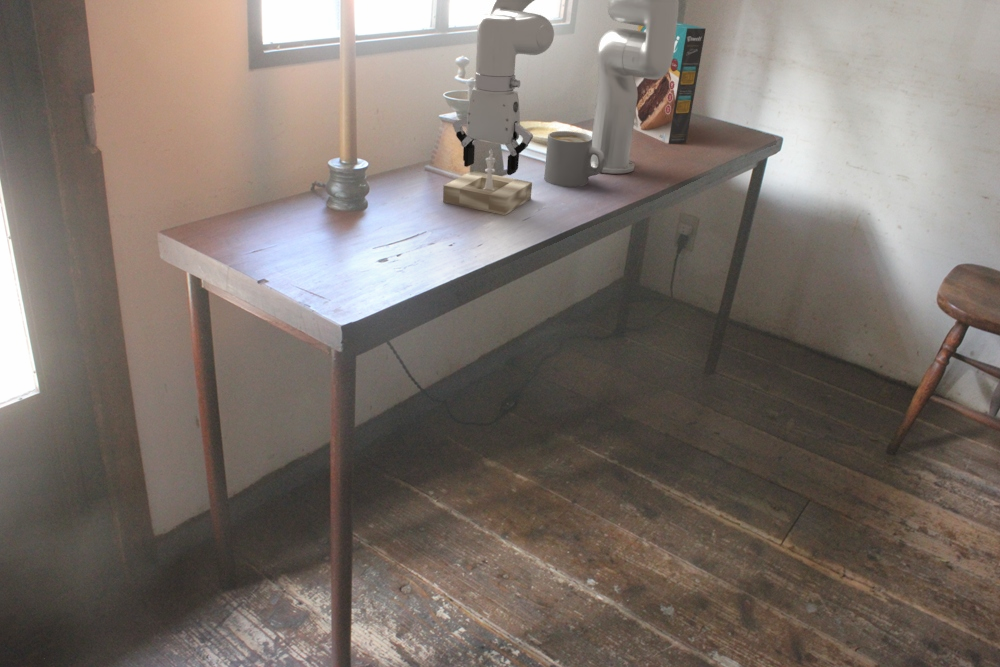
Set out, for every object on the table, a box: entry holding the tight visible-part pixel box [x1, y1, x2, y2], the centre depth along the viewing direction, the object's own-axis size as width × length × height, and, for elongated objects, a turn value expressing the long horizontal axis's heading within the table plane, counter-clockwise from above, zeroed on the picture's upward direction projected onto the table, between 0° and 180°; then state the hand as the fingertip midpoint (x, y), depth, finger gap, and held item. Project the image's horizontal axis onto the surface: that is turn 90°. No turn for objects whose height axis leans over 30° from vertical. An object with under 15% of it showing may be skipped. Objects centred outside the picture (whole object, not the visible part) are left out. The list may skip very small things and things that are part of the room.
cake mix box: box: [633, 21, 706, 145], centre depth 221 cm, size 22×6×30 cm, turn 25°
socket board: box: [442, 170, 533, 216], centre depth 163 cm, size 13×14×4 cm
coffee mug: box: [543, 130, 605, 188], centre depth 177 cm, size 13×10×10 cm
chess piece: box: [484, 148, 496, 190], centre depth 162 cm, size 5×5×10 cm
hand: (490, 169), depth 161 cm, fingers open, 9 cm apart
